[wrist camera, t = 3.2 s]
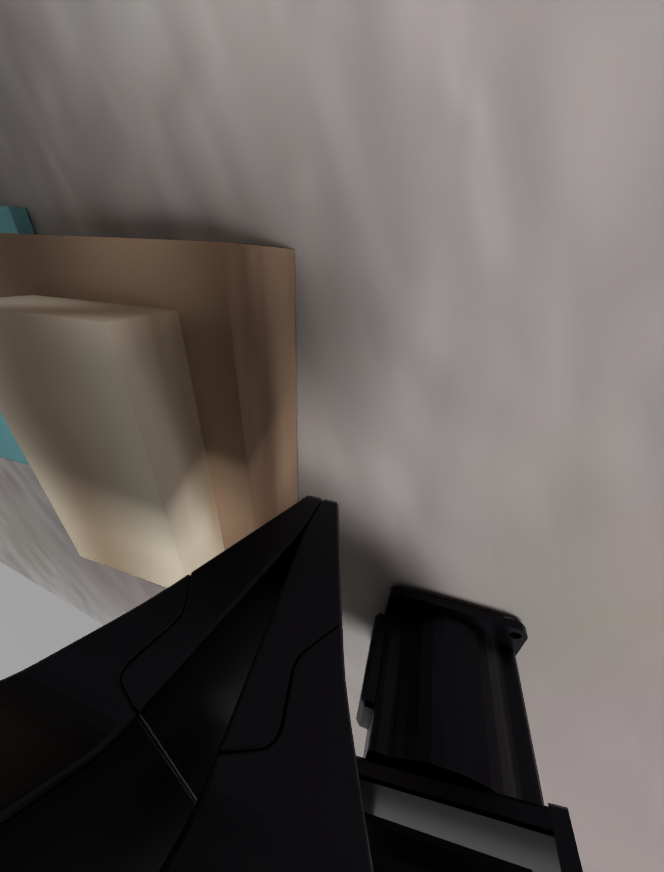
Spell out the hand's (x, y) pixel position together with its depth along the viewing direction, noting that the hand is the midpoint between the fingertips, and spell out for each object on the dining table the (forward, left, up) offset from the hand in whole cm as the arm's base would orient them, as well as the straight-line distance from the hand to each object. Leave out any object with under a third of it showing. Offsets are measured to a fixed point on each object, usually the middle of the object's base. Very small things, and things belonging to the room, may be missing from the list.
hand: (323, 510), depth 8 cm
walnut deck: (+8, 0, -5) cm, 10 cm away
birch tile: (+7, 0, -1) cm, 7 cm away
